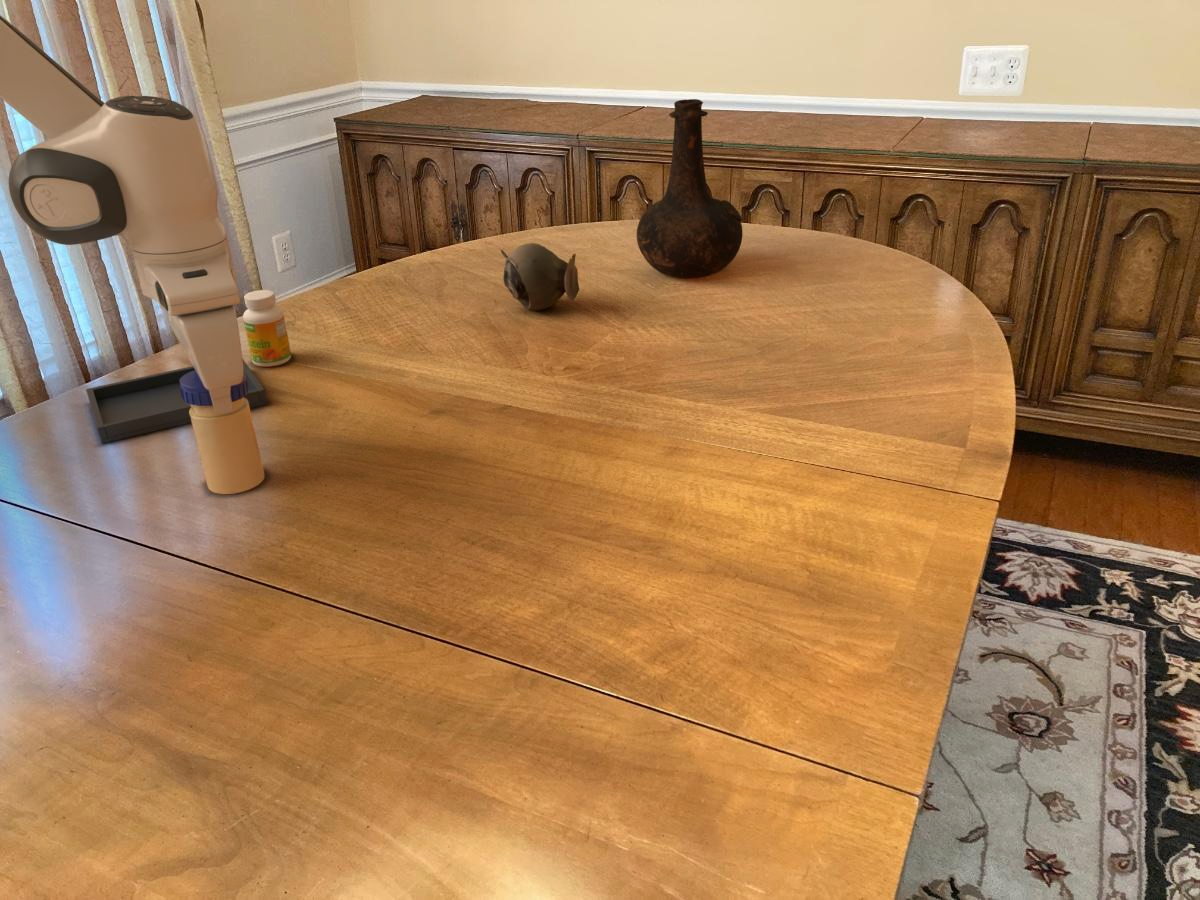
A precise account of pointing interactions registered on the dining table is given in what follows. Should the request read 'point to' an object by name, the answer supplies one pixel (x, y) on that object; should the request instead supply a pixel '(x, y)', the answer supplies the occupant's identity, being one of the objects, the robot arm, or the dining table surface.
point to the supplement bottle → (266, 329)
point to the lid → (206, 390)
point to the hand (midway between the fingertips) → (215, 397)
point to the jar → (227, 447)
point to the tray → (150, 403)
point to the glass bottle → (689, 210)
